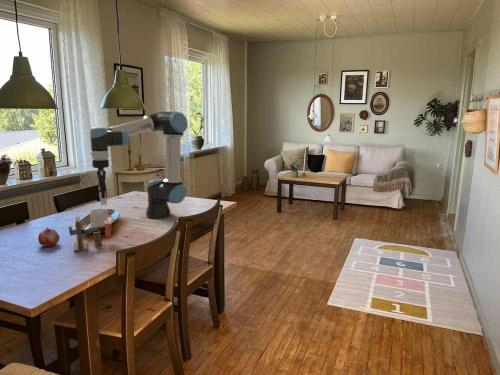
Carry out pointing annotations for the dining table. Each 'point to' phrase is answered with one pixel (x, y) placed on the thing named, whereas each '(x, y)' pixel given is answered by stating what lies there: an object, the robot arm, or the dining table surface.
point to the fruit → (48, 237)
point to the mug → (98, 217)
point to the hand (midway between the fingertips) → (103, 201)
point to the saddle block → (97, 239)
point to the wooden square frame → (79, 238)
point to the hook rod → (94, 229)
